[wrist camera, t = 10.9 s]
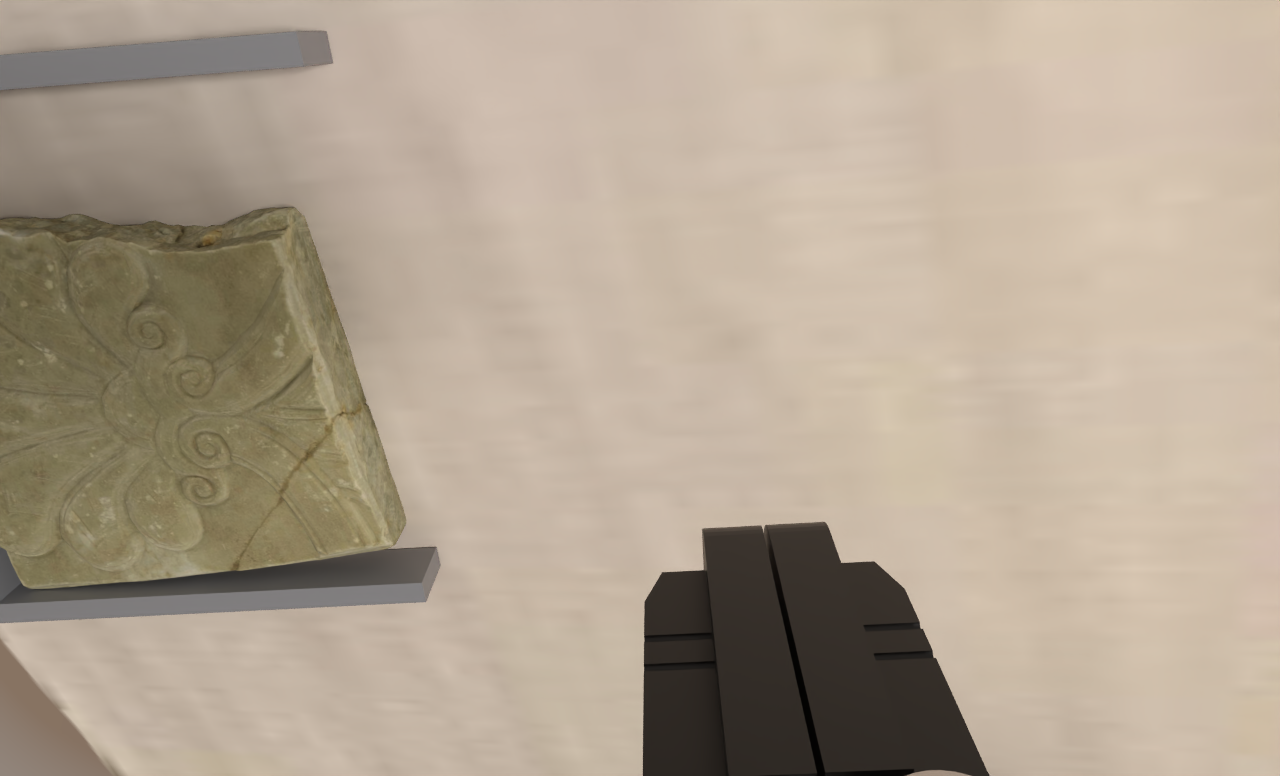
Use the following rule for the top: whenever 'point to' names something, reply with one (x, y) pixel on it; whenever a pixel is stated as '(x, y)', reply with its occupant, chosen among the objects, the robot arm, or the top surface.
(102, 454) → the decorative tile
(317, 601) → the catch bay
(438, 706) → the top surface
